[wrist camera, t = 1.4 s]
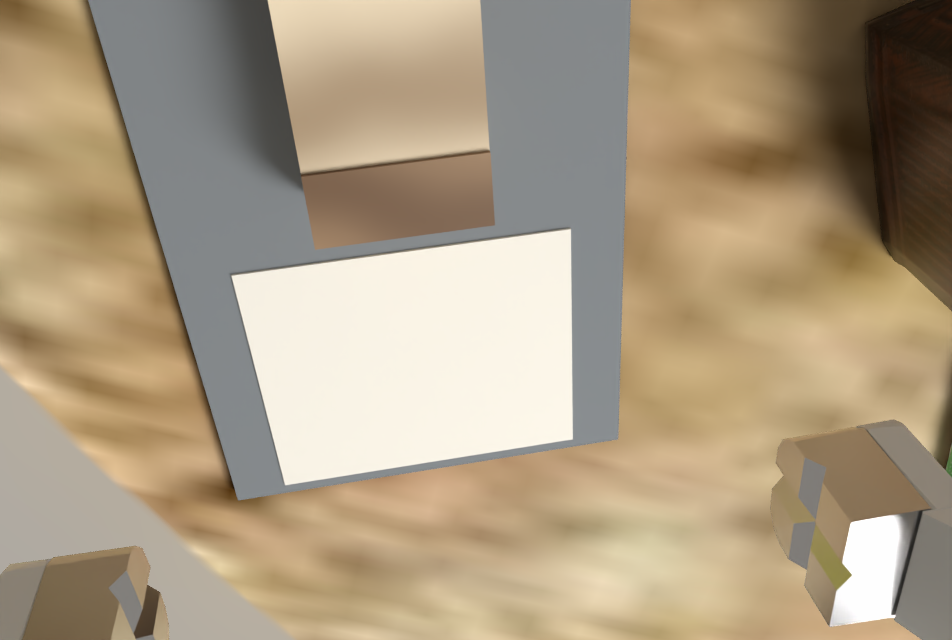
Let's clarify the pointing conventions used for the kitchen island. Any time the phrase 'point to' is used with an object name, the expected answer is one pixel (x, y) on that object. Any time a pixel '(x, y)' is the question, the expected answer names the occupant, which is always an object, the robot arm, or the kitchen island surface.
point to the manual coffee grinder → (914, 136)
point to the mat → (385, 251)
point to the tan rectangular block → (387, 116)
